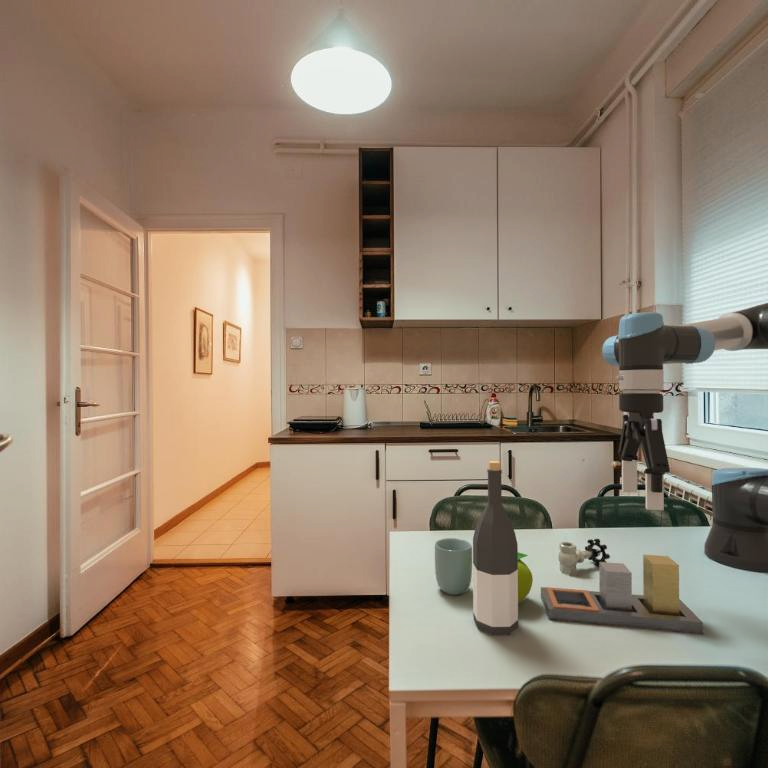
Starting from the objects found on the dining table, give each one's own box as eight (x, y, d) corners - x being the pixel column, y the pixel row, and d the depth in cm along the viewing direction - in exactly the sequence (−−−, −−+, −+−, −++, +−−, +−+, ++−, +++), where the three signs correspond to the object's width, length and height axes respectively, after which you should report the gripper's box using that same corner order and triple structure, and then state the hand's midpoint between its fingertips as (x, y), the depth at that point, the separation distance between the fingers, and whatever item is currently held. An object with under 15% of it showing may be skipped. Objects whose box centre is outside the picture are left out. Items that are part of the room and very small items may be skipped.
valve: (572, 579, 99) (610, 570, 104) (572, 550, 99) (610, 543, 104) (550, 568, 105) (587, 560, 110) (550, 541, 105) (587, 534, 110)
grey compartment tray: (678, 608, 86) (678, 596, 86) (703, 633, 77) (703, 620, 77) (540, 596, 91) (540, 585, 91) (548, 619, 82) (548, 607, 82)
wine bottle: (491, 640, 75) (490, 467, 75) (464, 618, 82) (463, 460, 83) (527, 630, 78) (526, 463, 78) (498, 609, 86) (498, 457, 86)
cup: (449, 602, 88) (449, 553, 88) (428, 587, 95) (428, 541, 95) (479, 594, 92) (479, 546, 92) (457, 579, 99) (456, 535, 99)
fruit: (480, 591, 93) (480, 544, 93) (524, 591, 93) (523, 544, 93) (489, 613, 84) (489, 561, 84) (537, 614, 84) (537, 562, 84)
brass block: (668, 613, 84) (668, 556, 84) (679, 625, 80) (678, 565, 80) (643, 611, 85) (643, 554, 85) (653, 623, 81) (652, 563, 81)
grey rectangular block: (623, 609, 86) (623, 563, 86) (631, 621, 81) (631, 572, 81) (599, 607, 86) (599, 561, 87) (606, 618, 82) (606, 571, 82)
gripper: (602, 391, 99) (603, 485, 99) (642, 392, 74) (643, 517, 74) (639, 391, 97) (639, 486, 97) (692, 393, 73) (692, 520, 73)
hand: (641, 500), depth 86 cm, fingers open, 13 cm apart
